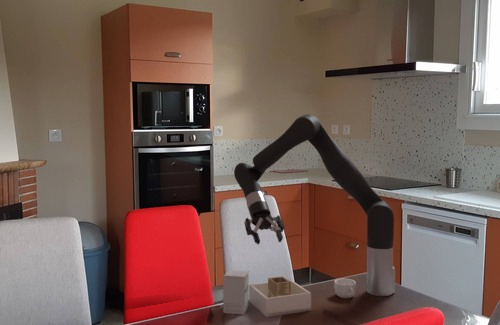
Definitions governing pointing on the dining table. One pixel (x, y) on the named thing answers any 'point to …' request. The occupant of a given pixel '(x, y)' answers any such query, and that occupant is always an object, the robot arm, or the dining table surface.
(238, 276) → the supplement box
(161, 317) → the dining table surface
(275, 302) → the big plastic crate
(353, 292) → the teacup
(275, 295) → the small wooden crate
